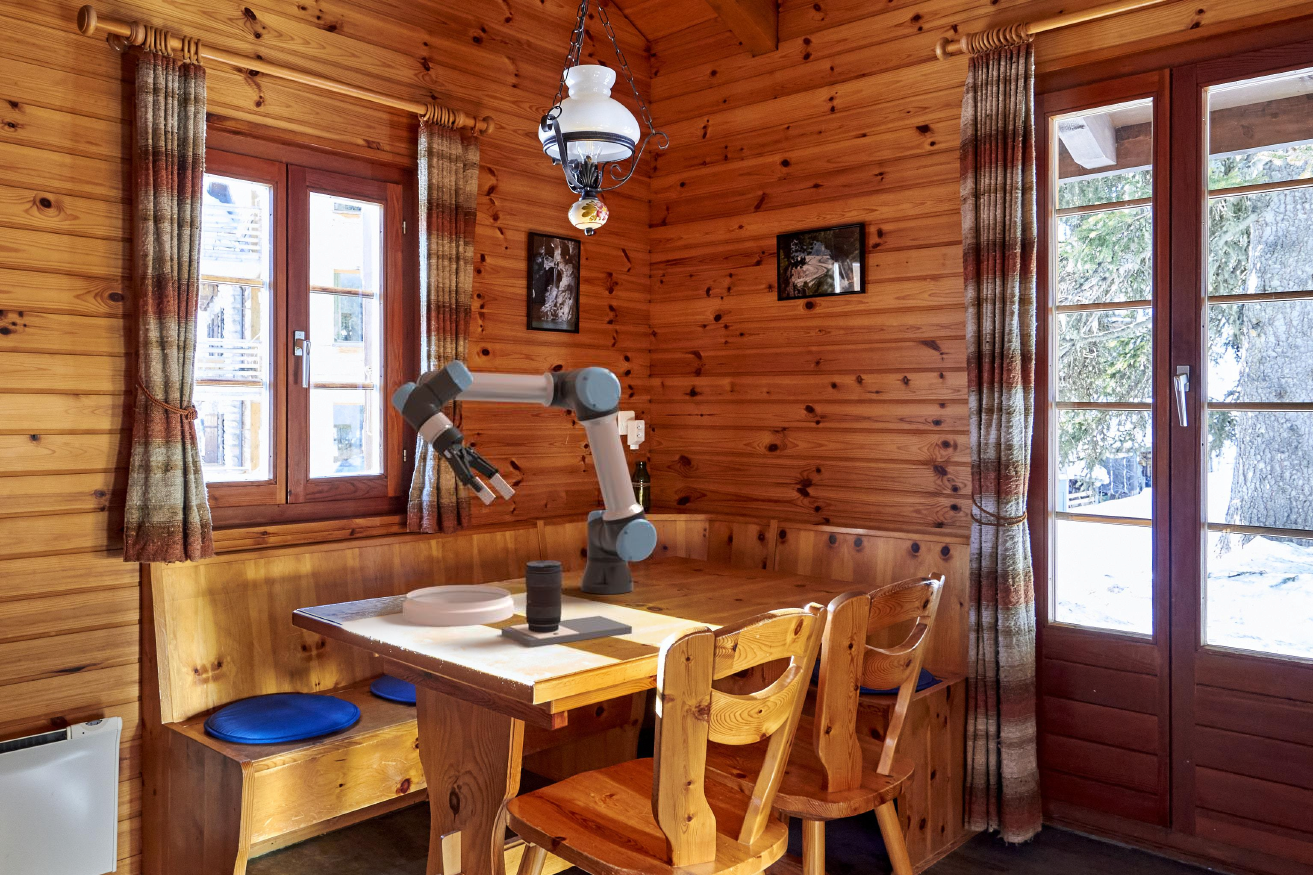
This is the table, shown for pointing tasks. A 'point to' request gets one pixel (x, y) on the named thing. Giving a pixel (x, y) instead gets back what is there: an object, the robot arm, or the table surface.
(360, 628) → the table surface
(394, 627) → the table surface
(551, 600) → the camera lens
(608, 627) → the board
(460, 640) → the table surface
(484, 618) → the white round tray
